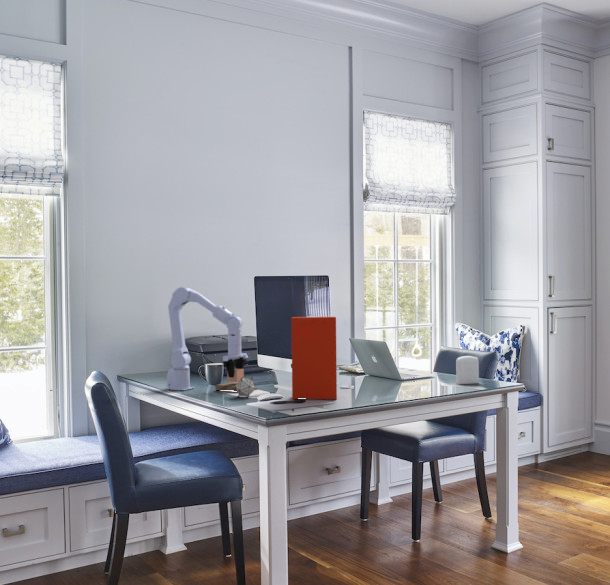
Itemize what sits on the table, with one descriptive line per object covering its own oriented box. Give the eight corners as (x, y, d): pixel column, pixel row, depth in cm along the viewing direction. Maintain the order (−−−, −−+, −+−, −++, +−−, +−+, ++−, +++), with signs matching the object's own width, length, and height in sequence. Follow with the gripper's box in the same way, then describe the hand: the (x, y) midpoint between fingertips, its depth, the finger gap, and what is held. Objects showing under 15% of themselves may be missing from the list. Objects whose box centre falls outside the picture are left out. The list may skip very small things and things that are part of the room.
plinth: (215, 390, 309) (215, 385, 309) (232, 387, 319) (232, 381, 319) (238, 392, 303) (238, 386, 303) (254, 389, 313) (254, 383, 313)
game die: (250, 406, 292) (265, 386, 292) (238, 401, 286) (253, 381, 285) (237, 393, 298) (251, 373, 298) (225, 388, 291) (240, 368, 291)
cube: (227, 381, 310) (227, 369, 310) (234, 379, 314) (234, 368, 314) (237, 381, 308) (237, 370, 308) (243, 380, 312) (243, 368, 312)
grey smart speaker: (458, 384, 321) (458, 356, 320) (454, 383, 325) (454, 355, 325) (480, 383, 322) (480, 356, 322) (476, 382, 327) (476, 355, 326)
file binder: (292, 396, 291) (291, 316, 291) (335, 396, 291) (334, 316, 291) (292, 400, 283) (291, 317, 282) (336, 399, 283) (336, 317, 283)
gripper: (232, 346, 303) (232, 378, 303) (252, 343, 315) (252, 374, 315) (218, 345, 306) (219, 377, 306) (238, 343, 319) (239, 374, 319)
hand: (235, 376), depth 311 cm, fingers closed on cube, 5 cm apart
